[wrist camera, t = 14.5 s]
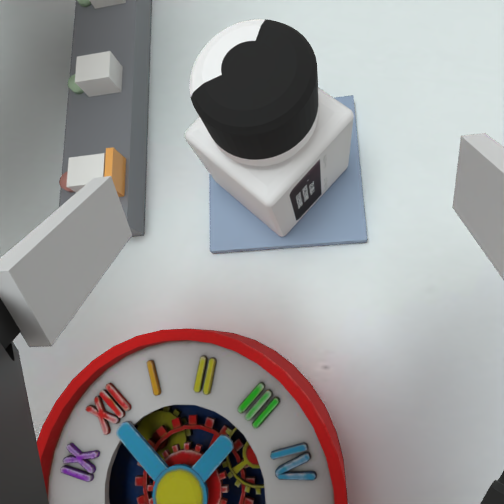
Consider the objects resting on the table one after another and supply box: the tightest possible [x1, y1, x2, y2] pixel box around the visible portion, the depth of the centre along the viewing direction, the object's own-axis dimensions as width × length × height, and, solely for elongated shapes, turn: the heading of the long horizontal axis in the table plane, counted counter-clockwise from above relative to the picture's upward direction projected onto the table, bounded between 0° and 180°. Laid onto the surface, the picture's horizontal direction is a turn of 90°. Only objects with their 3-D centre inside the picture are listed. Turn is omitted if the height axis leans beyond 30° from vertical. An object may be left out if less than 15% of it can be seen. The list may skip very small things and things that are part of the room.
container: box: [184, 19, 354, 237], centre depth 25 cm, size 8×8×13 cm
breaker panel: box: [59, 0, 152, 236], centre depth 35 cm, size 26×6×5 cm, turn 2°
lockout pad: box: [209, 95, 367, 253], centre depth 32 cm, size 12×12×1 cm
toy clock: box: [37, 329, 348, 504], centre depth 26 cm, size 20×6×20 cm
